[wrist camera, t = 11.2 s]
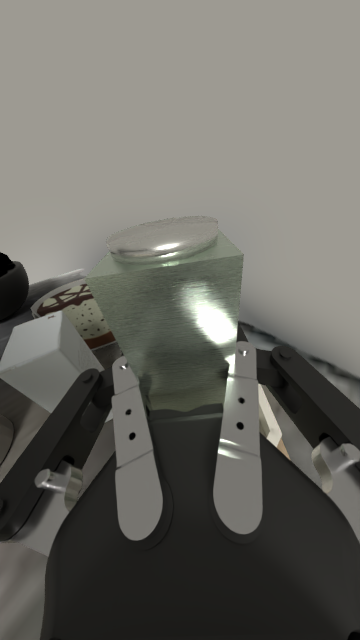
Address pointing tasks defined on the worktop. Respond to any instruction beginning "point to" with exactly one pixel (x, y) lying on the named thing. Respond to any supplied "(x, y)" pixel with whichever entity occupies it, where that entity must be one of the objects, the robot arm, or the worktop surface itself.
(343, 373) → the worktop surface
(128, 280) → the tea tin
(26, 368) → the skincare box
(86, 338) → the food container
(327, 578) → the robot arm
